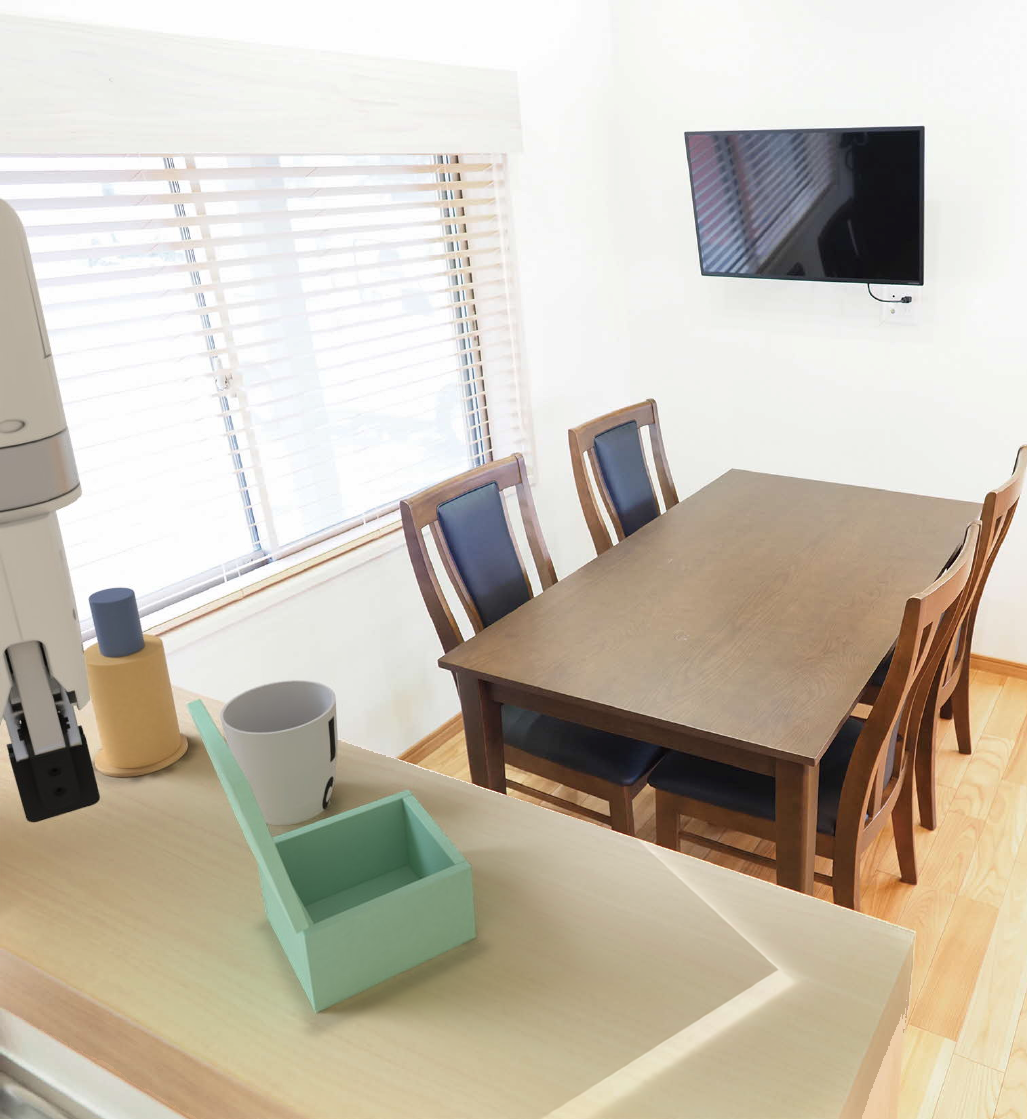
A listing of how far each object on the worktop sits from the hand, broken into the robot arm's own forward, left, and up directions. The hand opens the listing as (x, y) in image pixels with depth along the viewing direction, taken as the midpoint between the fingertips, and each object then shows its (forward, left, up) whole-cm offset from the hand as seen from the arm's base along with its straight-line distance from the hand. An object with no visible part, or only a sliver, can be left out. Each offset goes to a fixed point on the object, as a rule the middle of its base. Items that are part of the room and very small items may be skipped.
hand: (63, 805), depth 50 cm
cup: (+15, +17, -17) cm, 29 cm away
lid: (+9, 0, -4) cm, 10 cm away
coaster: (+7, +33, -17) cm, 38 cm away
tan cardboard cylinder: (+7, +33, -17) cm, 38 cm away
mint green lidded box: (+15, 0, -17) cm, 23 cm away
